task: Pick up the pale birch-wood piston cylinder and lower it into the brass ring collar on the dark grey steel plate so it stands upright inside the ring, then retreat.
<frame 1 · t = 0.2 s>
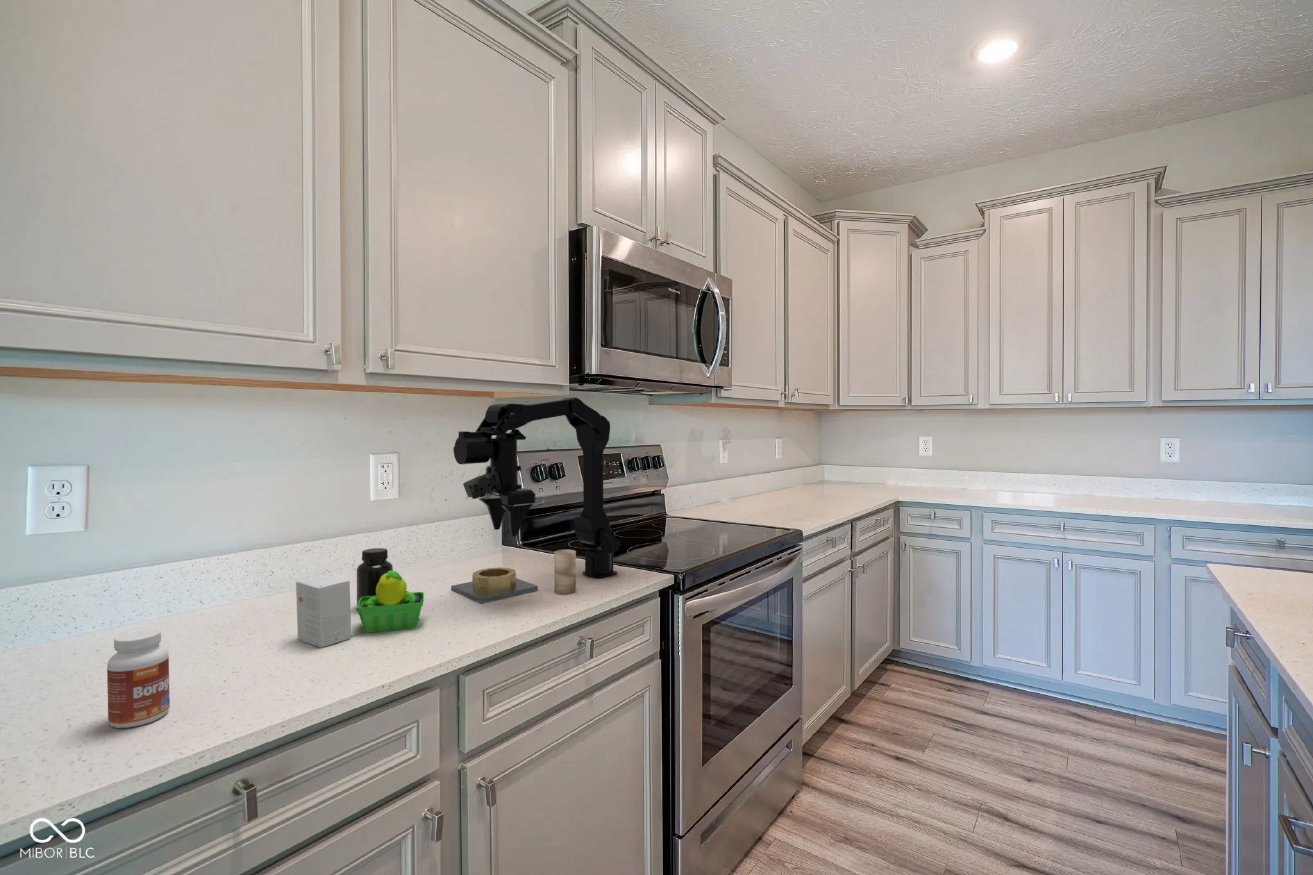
hand: (505, 532, 132), 14 cm above the worktop, fingers open, 9 cm apart
piston: (565, 591, 137), on the worktop
supplement bottle: (375, 608, 125), on the worktop
fruit basket: (391, 628, 114), on the worktop
pill bottle: (140, 719, 80), on the worktop
ring collar: (494, 590, 138), on the worktop
small box: (324, 640, 108), on the worktop
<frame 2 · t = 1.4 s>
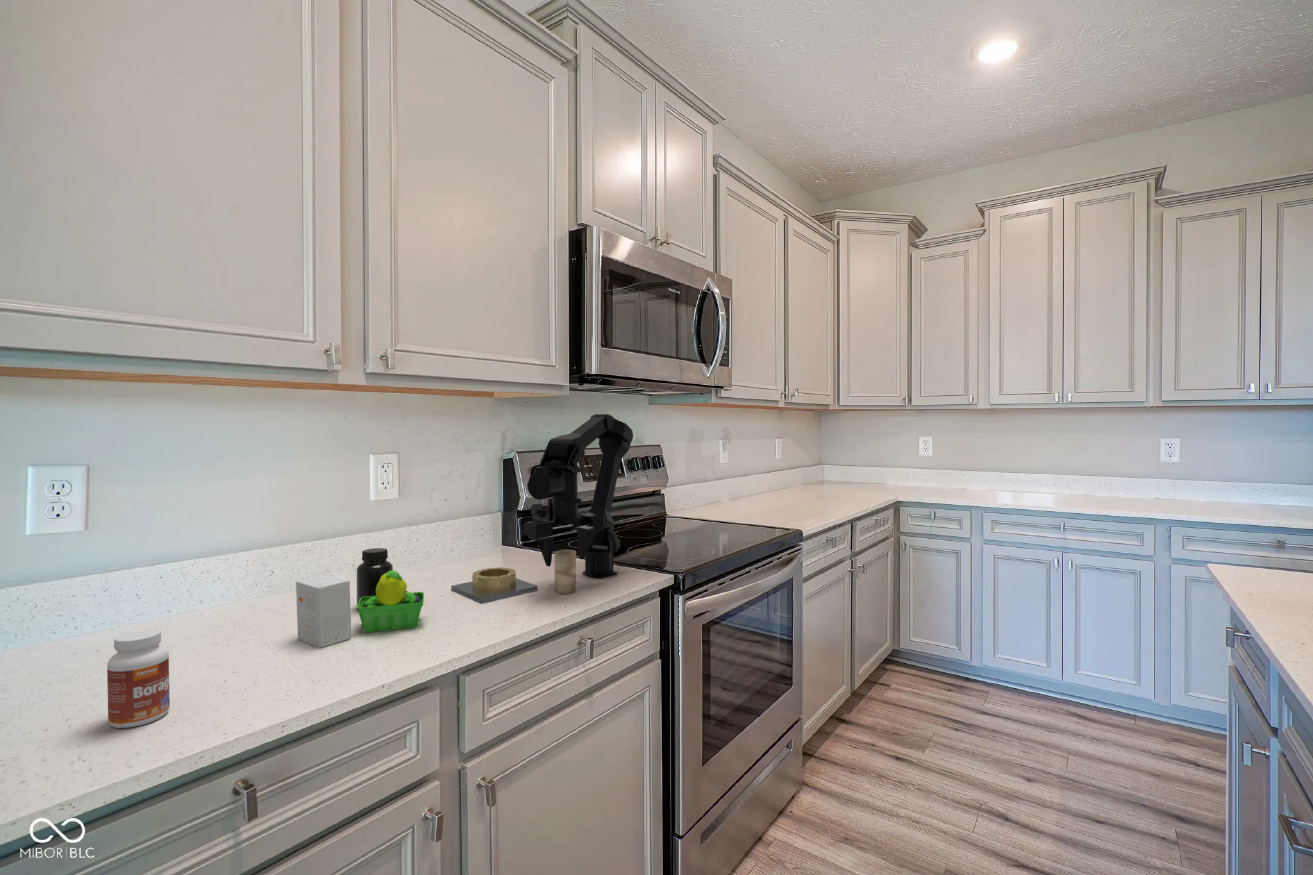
hand: (565, 562, 137), 7 cm above the worktop, fingers open, 9 cm apart
nothing on the worktop moved.
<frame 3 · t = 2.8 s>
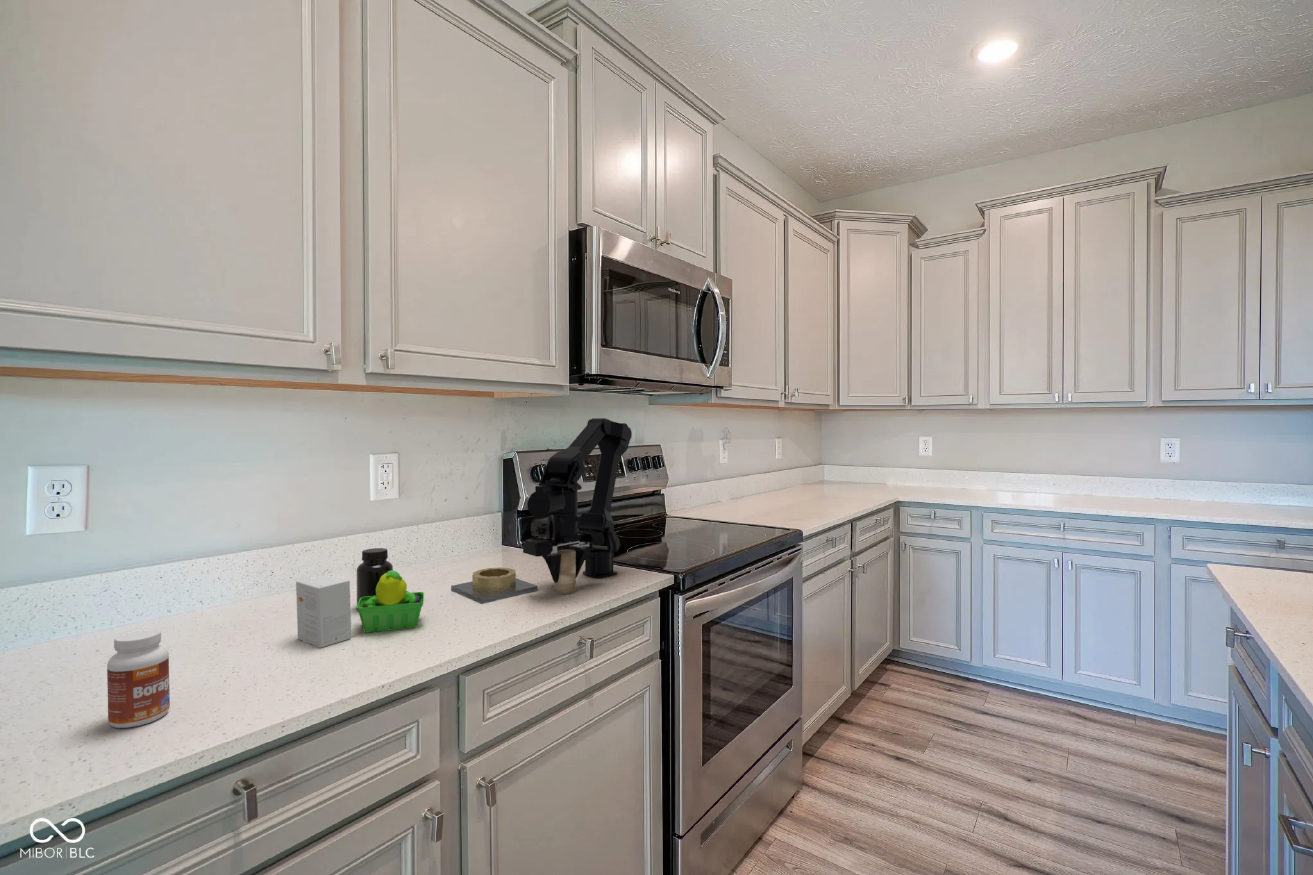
hand: (565, 580, 137), 3 cm above the worktop, fingers closed on piston, 5 cm apart
piston: (565, 591, 137), on the worktop, touching gripper
everything else where it was.
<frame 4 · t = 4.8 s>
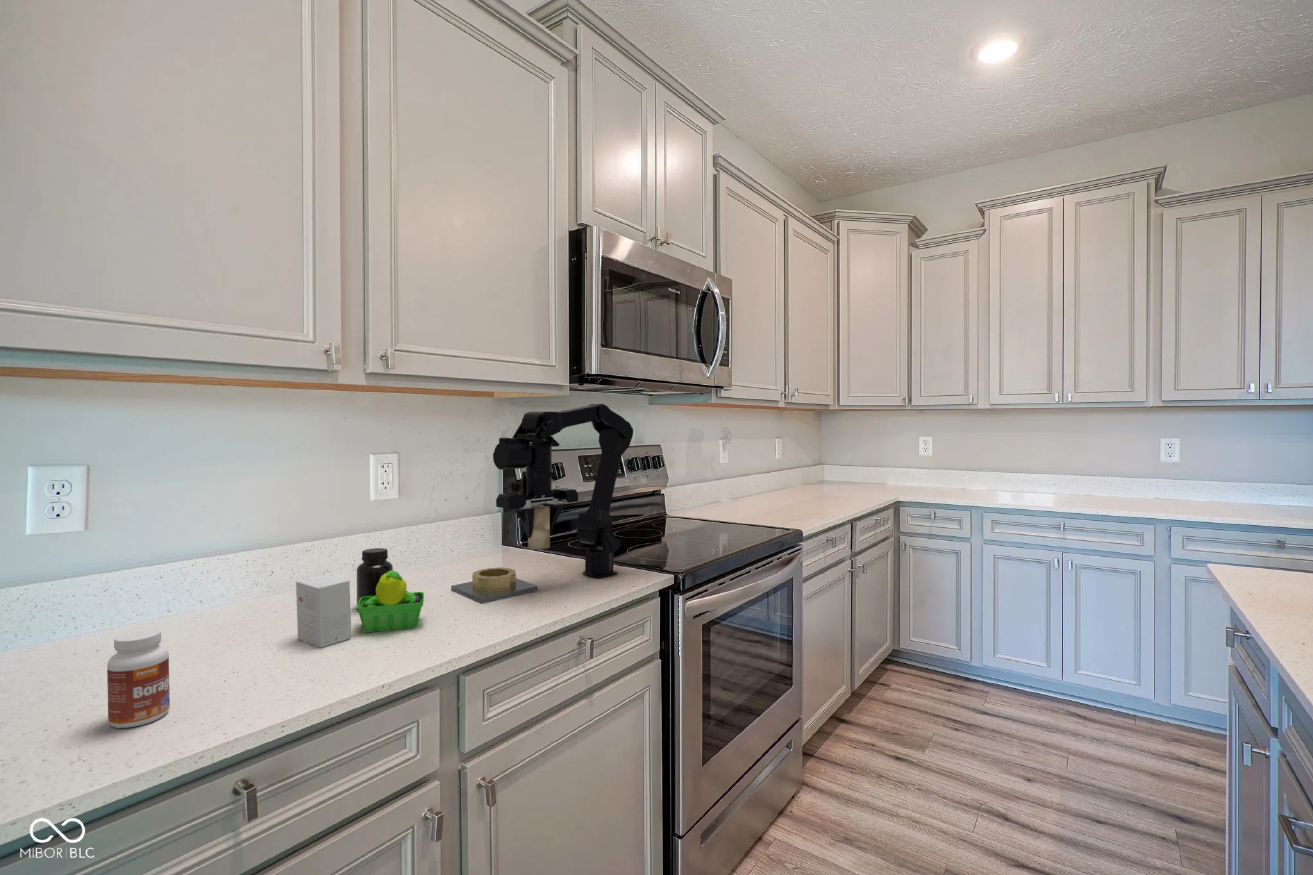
hand: (538, 536, 137), 13 cm above the worktop, fingers closed on piston, 5 cm apart
piston: (538, 547, 137), point 10 cm above the worktop, touching gripper
everything else where it was.
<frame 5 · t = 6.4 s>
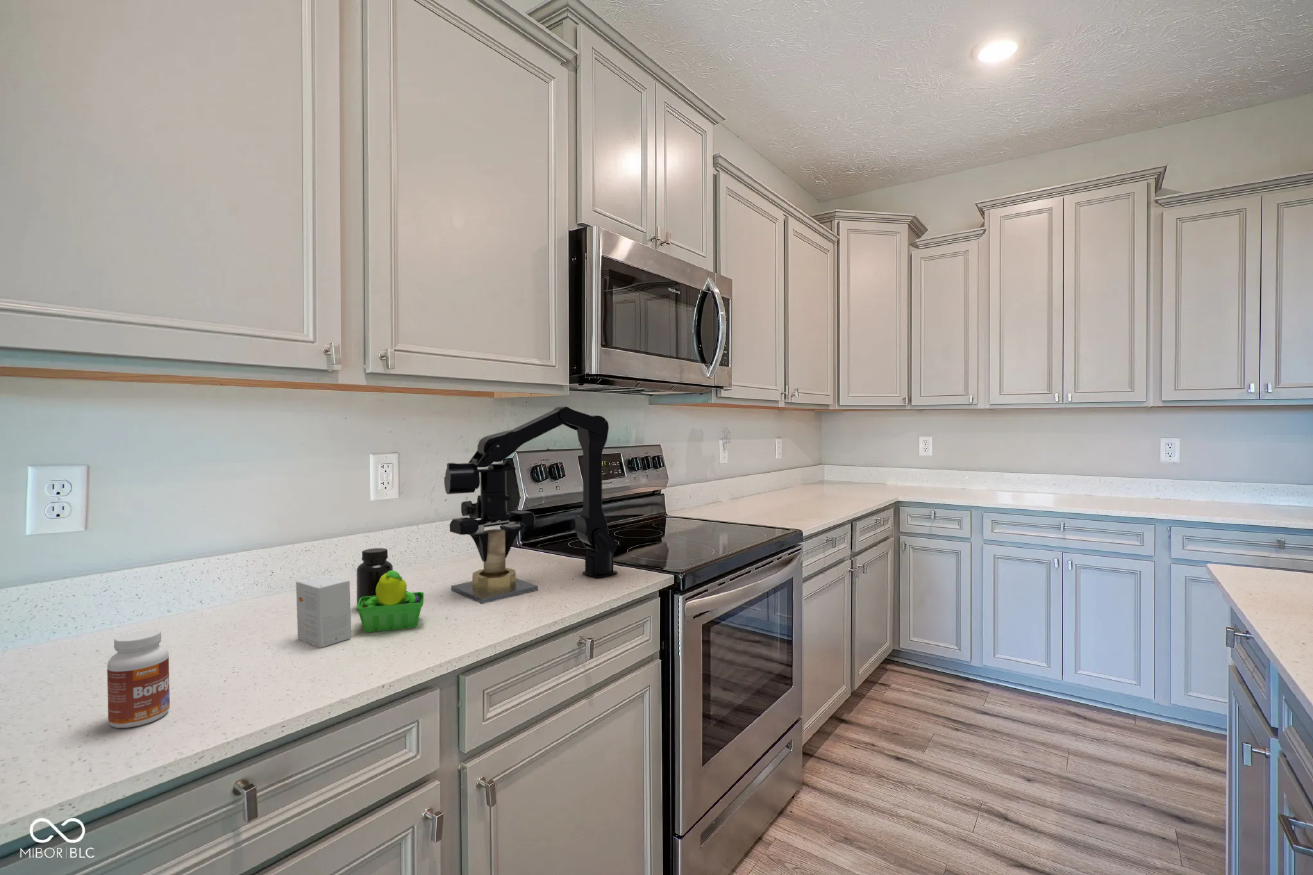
hand: (494, 559, 138), 7 cm above the worktop, fingers closed on piston, 5 cm apart
piston: (494, 570, 138), point 5 cm above the worktop, touching gripper
everything else where it was.
when the fingers open (7 cm above the worktop, at t = 7.1 s): piston drops 3 cm, resting on ring collar.
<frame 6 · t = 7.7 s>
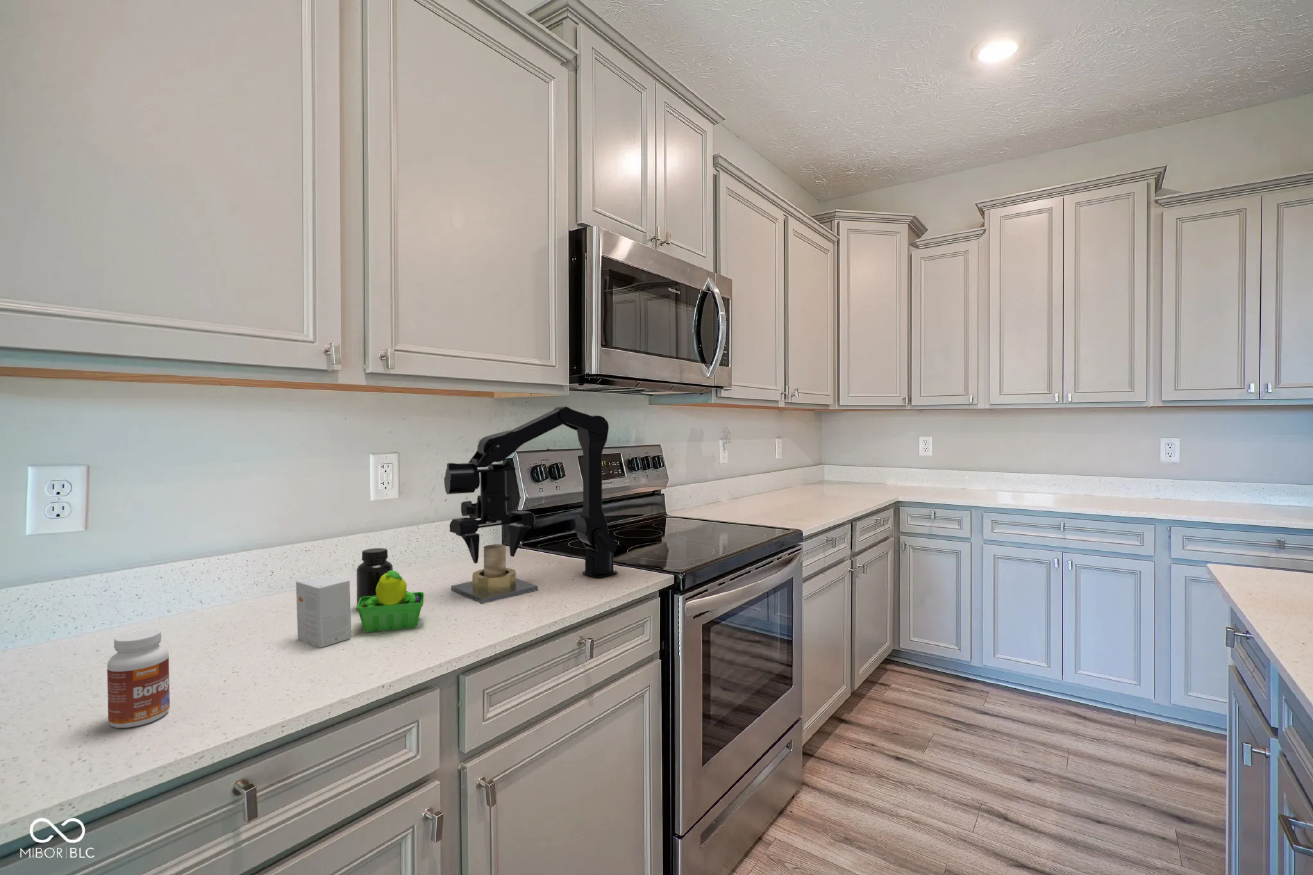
hand: (494, 559, 138), 7 cm above the worktop, fingers open, 9 cm apart
piston: (494, 585, 138), point 1 cm above the worktop, touching ring collar
everything else where it was.
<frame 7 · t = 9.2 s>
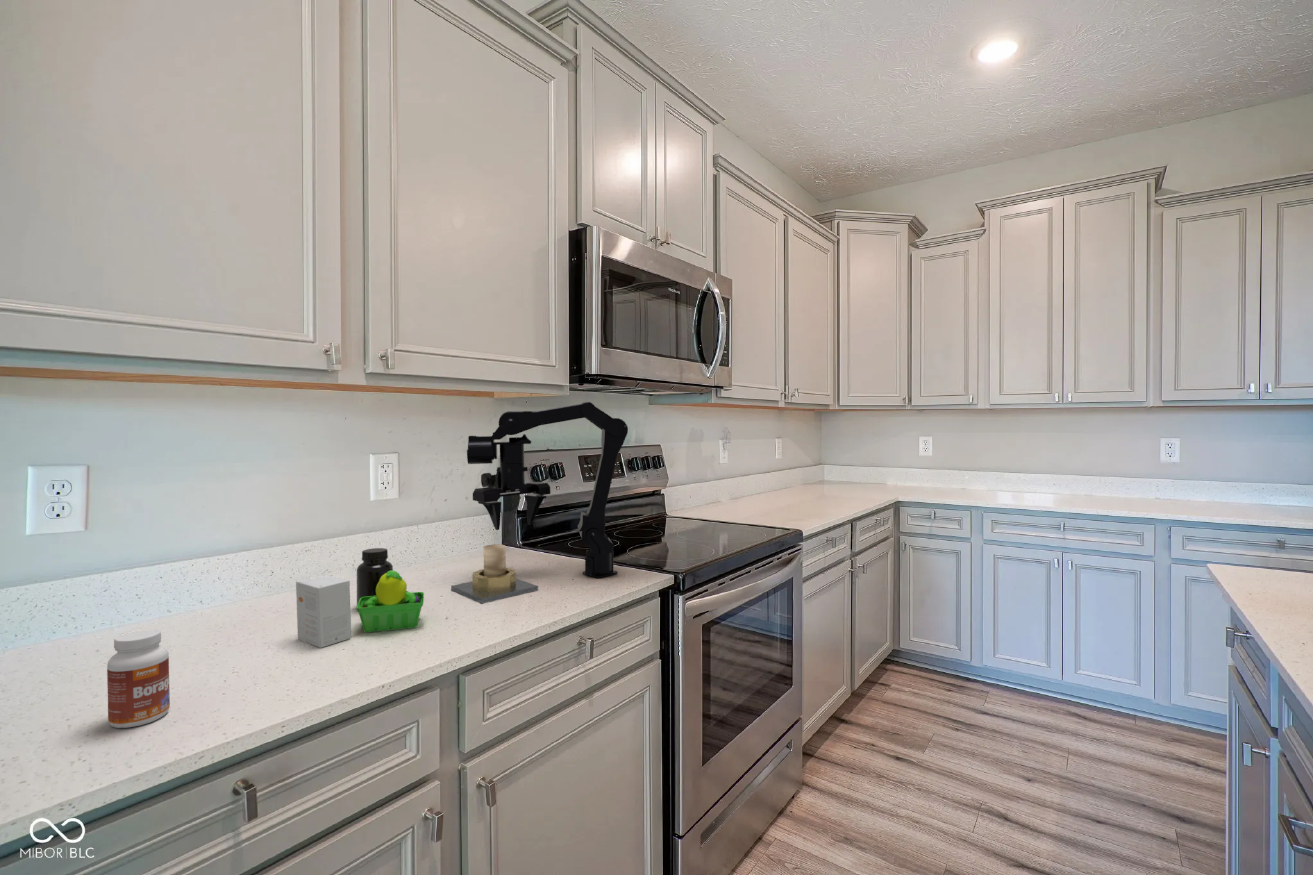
hand: (513, 526, 147), 13 cm above the worktop, fingers open, 9 cm apart
nothing on the worktop moved.
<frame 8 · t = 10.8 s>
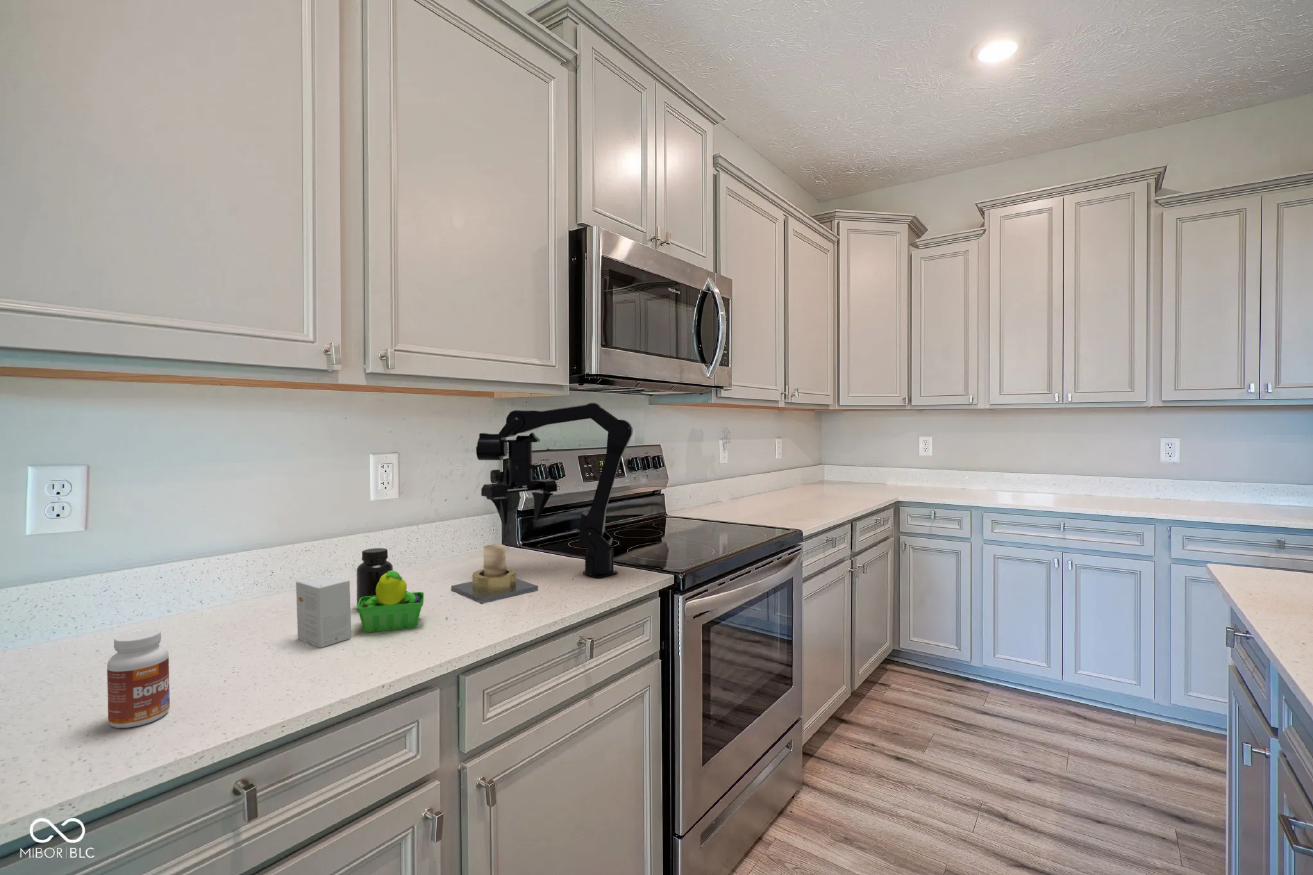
hand: (520, 522, 152), 13 cm above the worktop, fingers open, 9 cm apart
nothing on the worktop moved.
at the end: piston 0.1 cm off-centre on the ring collar, point 1.0 cm above the ring collar's base; piston tilted 0°; the gripper is holding nothing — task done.
